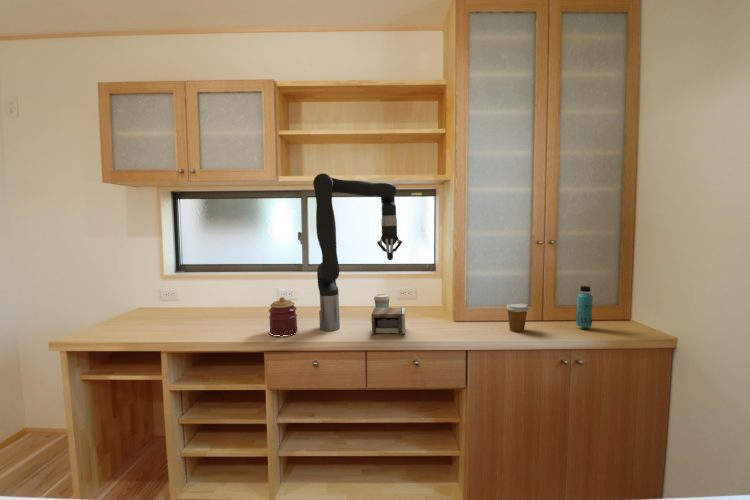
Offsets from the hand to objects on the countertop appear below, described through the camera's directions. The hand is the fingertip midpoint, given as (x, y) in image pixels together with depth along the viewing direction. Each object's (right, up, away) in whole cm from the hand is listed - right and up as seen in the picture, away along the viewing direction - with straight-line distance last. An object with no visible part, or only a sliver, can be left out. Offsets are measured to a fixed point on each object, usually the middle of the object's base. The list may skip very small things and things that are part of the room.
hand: (390, 259), depth 186 cm
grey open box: (-1, -32, -7) cm, 33 cm away
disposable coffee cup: (+59, -33, -10) cm, 68 cm away
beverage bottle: (+90, -32, -11) cm, 96 cm away
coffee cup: (-3, -32, +18) cm, 37 cm away
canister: (-51, -35, -5) cm, 62 cm away
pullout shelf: (0, -33, -7) cm, 34 cm away
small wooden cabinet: (-1, -34, -6) cm, 34 cm away
